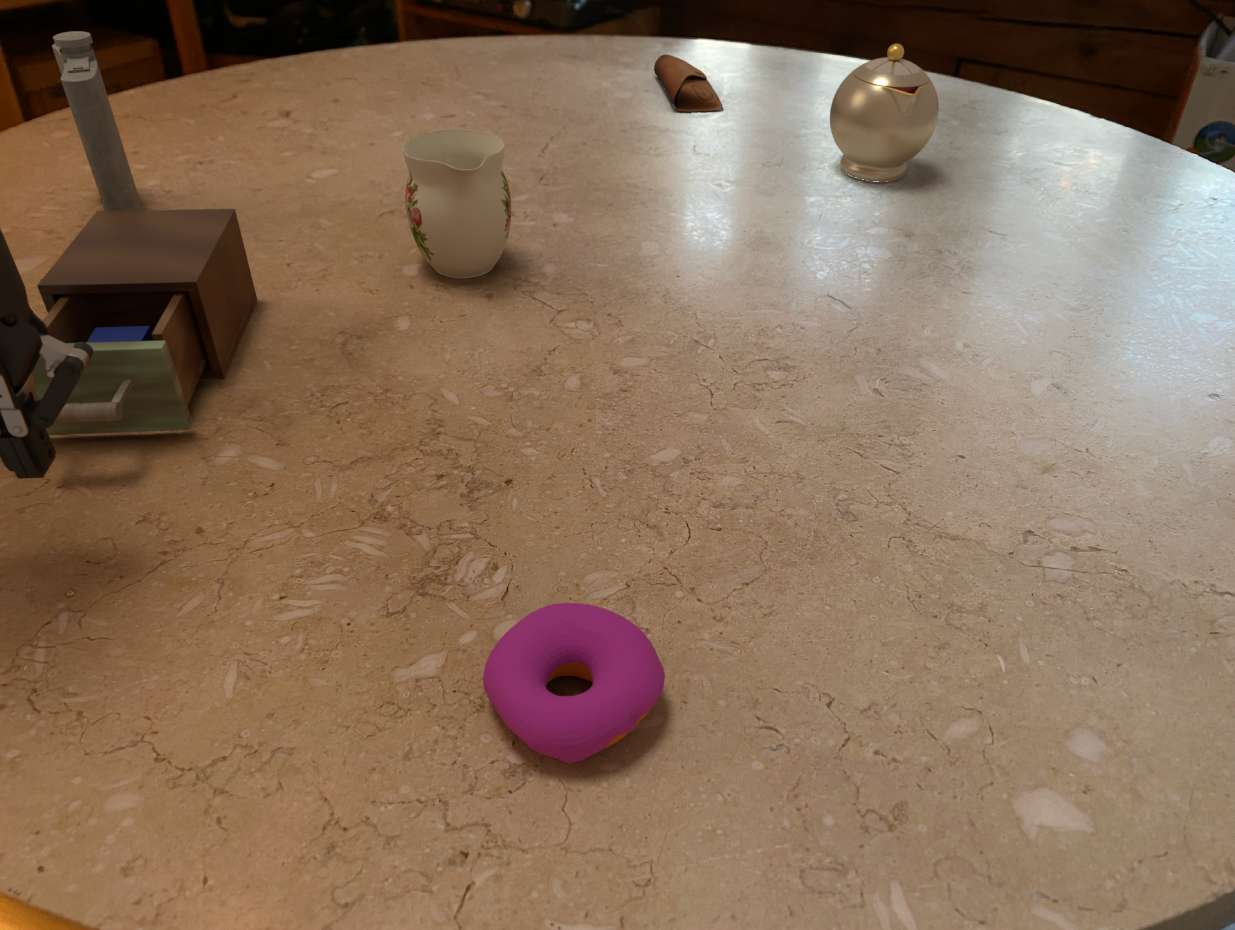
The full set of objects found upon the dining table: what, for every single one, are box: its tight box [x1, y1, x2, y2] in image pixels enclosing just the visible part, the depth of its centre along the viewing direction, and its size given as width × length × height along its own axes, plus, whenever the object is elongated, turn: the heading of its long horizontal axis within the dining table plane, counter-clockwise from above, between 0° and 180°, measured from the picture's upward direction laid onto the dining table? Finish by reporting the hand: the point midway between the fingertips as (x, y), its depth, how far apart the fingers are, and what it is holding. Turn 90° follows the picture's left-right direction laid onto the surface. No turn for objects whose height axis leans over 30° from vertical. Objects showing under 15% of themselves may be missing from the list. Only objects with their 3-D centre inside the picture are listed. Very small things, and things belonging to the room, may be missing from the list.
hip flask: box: [51, 30, 144, 211], centre depth 105 cm, size 16×4×20 cm, turn 28°
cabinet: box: [36, 208, 258, 381], centre depth 87 cm, size 15×13×10 cm
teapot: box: [829, 43, 940, 184], centre depth 123 cm, size 18×14×16 cm
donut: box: [482, 602, 666, 764], centre depth 57 cm, size 10×10×5 cm
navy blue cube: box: [86, 326, 154, 343], centre depth 79 cm, size 4×4×4 cm
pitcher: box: [401, 128, 512, 279], centre depth 100 cm, size 11×18×14 cm, turn 19°
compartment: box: [33, 291, 208, 436], centre depth 78 cm, size 18×12×8 cm, turn 5°
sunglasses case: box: [653, 54, 724, 113], centre depth 150 cm, size 18×7×7 cm, turn 8°
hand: (35, 470), depth 64 cm, fingers closed
